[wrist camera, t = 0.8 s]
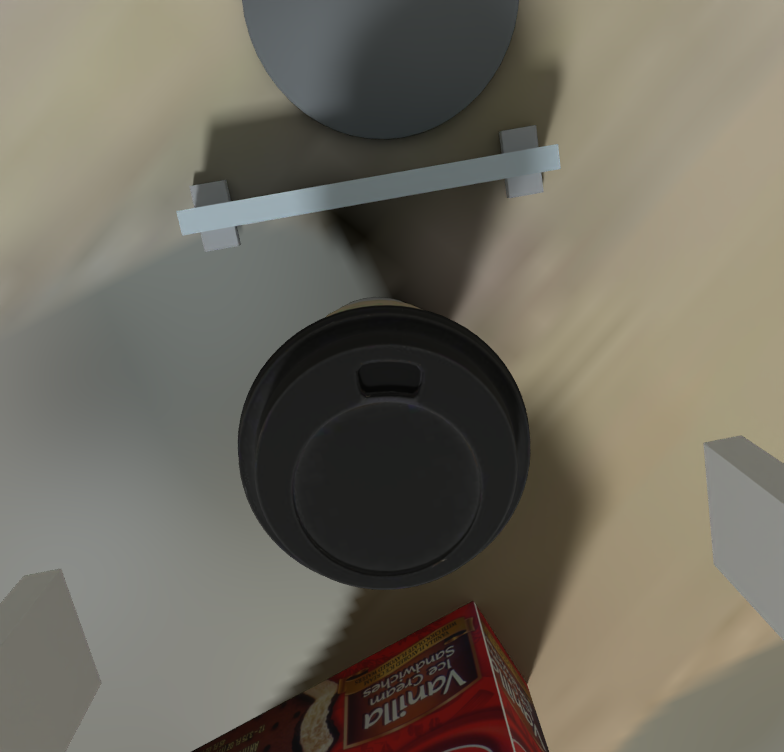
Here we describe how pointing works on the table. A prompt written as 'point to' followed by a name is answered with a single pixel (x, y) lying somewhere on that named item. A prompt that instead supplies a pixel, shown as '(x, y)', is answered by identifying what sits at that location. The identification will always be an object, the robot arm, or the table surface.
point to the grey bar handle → (369, 189)
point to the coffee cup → (384, 445)
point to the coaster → (381, 58)
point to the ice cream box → (407, 700)
